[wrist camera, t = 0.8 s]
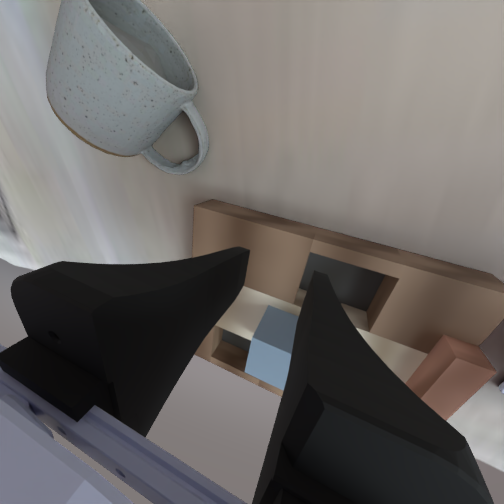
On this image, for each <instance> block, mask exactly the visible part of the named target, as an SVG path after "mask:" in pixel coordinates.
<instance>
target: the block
mask: <svg viewBox="0 0 504 504" xmlns="http://www.w3.org/2000/svg"><path fill="white" fill-rule="evenodd" d="M298 317H299V316H296V315H293V314H291V313H288V312H286V311H283V310H280V309H278V308H275V307H272V306H270V305H268V307H267V309H266V311H265V313H264V315H263V317H262V319H261V321H260V323H259V325H258V327H257V329H256V331H255V333H254V335H253V337H252V340H251V345H250V349H249V354H248V358H247V363H246V367H245V373H247V374H249V375H252V376H254V377H256V378H258V379H260V380H262V381H264V382H266V383H268V384H270V385H272V386H275V387H277V388H279V389H281V390H283V391H284V387H285V383H286V380H287V375H288V371H289V366H290V360H291V354H292V348H293V342H294V336H295V330H296V325H297V321H298Z"/></svg>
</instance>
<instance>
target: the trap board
mask: <svg viewBox="0 0 504 504" xmlns="http://www.w3.org/2000/svg"><path fill="white" fill-rule="evenodd" d="M238 246H240V247H243V248H246V249H249V250H250V255H249V261H248V266H247V272H246V278H245V284H244V286H243V288H242V289H241V291H240V293H239V295H238V296H237V298H236V299H235V301H234V302H233V303H232V305H231V306H230V307H229V308H228V310H227V311H226V312H225V313H224V315H223V316H222V317H221V318H220V320H219V321H218V322H217V323H216V324H215V326H214V327H213V328H212V329H211V331H210V332H209V333H208V335H207V336H206V337H205V339H204V340H203V341H202V343H201V345H200V346H199V348H198V349H197V351H196V352H195V355H197V356H199V357H201V358H203V359H205V360H207V361H209V362H211V363H213V364H215V365H217V366H219V367H221V368H224V369H225V370H227V371H230V372H232V373H234V374H236V375H238V376H240V377H242V378H244V379H246V380H248V381H250V382H252V383H254V384H256V385H258V386H260V387H262V388H265V389H266V390H268V391H270V392H272V393H275V394H277V395H279V396H281V397H282V394H283V390H281V389H279V388H277V387H275V386H272V385H270V384H268V383H266V382H264V381H262V380H260V379H258V378H256V377H254V376H252V375H249V374H247V373H245V367H246V363H247V358H248V354H249V349H250V345H251V340H252V337H253V335H254V333H255V331H256V329H257V327H258V325H259V323H260V321H261V319H262V317H263V315H264V313H265V311H266V309H267V307H268V305H270V306H272V307H275V308H278V309H280V310H283V311H286V312H288V313H291V314H293V315H296V316H299V314H300V311H301V307H302V304H303V301H304V298H305V295H306V292H307V289H308V286H309V284H310V281H311V278H312V275H313V272H314V270H315V271H318V272H321V273H324V274H327V275H328V276H329V278H330V281H331V283H332V286H333V288H334V290H335V293H336V295H337V297H338V299H339V301H340V303H341V305H342V307H343V309H344V310H345V312H346V314H347V315H348V317H349V319H350V320H351V322H352V323H353V325H354V326H355V327H356V329H357V330H358V332H359V333H360V334H361V336H362V337H363V338H364V340H365V341H366V342H367V343H368V345H369V346H370V347H371V348H372V349H373V350H374V352H375V353H376V354H377V355H378V356H379V357H380V358H381V360H382V361H383V362H384V363H385V364H386V365H387V366H388V367H389V368H390V369H391V370H392V371H393V372H394V373H395V374H396V375H397V376H398V377H399V378H400V379H401V380H402V381H403V382H404V383H405V384H406V385H407V386H408V387H409V388H410V389H411V390H412V391H413V392H414V393H415V394H416V395H417V396H418V397H419V398H420V399H421V400H423V401H424V402H425V403H426V404H427V405H428V406H429V407H431V408H432V409H433V410H434V411H435V412H436V413H437V414H439V415H440V416H441V417H442V418H443V419H444V420H445V421H446V420H447V419H448V418H449V417H450V416H452V415H453V414H454V413H455V412H456V411H457V410H458V409H459V408H460V407H461V406H462V405H463V404H464V403H465V402H466V401H467V400H468V399H469V398H470V397H472V396H473V395H474V394H475V393H476V392H477V391H478V390H479V389H480V388H481V387H482V386H483V385H484V384H485V383H486V382H487V381H488V380H489V379H490V378H492V377H493V376H494V375H495V374H496V373H497V372H496V370H495V369H494V368H493V366H492V365H491V363H490V362H489V361H488V359H487V358H486V356H485V355H484V353H483V352H482V351H481V349H480V348H479V346H480V344H481V343H482V342H483V341H484V340H485V339H486V338H487V337H488V336H489V335H490V334H491V332H492V331H493V330H494V329H495V328H496V327H497V326H498V325H499V324H500V323H501V322H502V320H503V319H504V283H502V282H501V281H500V280H499V279H497V278H496V277H495V276H494V275H492V274H489V273H486V272H482V271H478V270H474V269H471V268H467V267H463V266H459V265H456V264H452V263H448V262H444V261H441V260H437V259H433V258H430V257H426V256H422V255H418V254H415V253H411V252H407V251H403V250H400V249H396V248H392V247H389V246H385V245H381V244H377V243H374V242H370V241H366V240H362V239H359V238H355V237H351V236H347V235H344V234H340V233H336V232H333V231H329V230H325V229H321V228H318V227H314V226H310V225H306V224H303V223H299V222H295V221H291V220H288V219H284V218H280V217H277V216H273V215H269V214H265V213H262V212H258V211H254V210H250V209H247V208H243V207H239V206H235V205H232V204H228V203H224V202H221V201H217V200H213V199H212V200H209V201H206V202H203V203H200V204H197V205H194V215H193V242H192V258H193V257H198V256H202V255H206V254H210V253H214V252H217V251H221V250H225V249H228V248H232V247H238Z"/></svg>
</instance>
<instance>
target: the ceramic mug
mask: <svg viewBox="0 0 504 504" xmlns="http://www.w3.org/2000/svg"><path fill="white" fill-rule="evenodd" d="M46 90H47V98H48V101H49V103H50V105H51V107H52V110H53V111H54V113H55V114H56V116H57V117H58V118H59V120H60V121H61V122H62V123H63V124H64V125H65V126H66V127H67V128H68V129H69V130H70V131H71V132H72V133H73V134H74V135H76V136H77V137H78V138H79V139H81V140H82V141H84V142H85V143H87V144H89V145H90V146H92V147H94V148H96V149H98V150H101V151H103V152H105V153H107V154H112V155H116V156H121V157H131V156H135V155H138V154H143V155H144V156H145V158H146V159H147V160H149V161H150V162H151V163H152V164H153V165H155V166H156V167H157V168H159V169H161V170H163V171H165V172H167V173H170V174H178V175H182V174H186V173H189V172H191V171H193V170H194V169H196V168H197V167H198V166H199V165H200V164H201V163H202V161H203V160H204V158H205V157H206V154H207V152H208V148H209V137H208V132H207V129H206V126H205V124H204V122H203V120H202V118H201V116H200V114H199V112H198V110H197V109H196V107H195V106H194V104H193V102H192V100H193V98H194V97H195V95H196V94H197V90H198V83H197V78H196V75H195V73H194V71H193V68H192V67H191V65H190V63H189V60H188V59H187V57H186V55H185V54H184V52H183V51H182V49H181V48H180V46H179V44H178V43H177V42H176V41H175V39H174V38H173V36H172V35H171V34H170V33H169V31H168V30H167V29H166V28H165V27H164V25H163V24H162V23H161V22H160V20H159V19H158V18H157V17H156V16H155V15H154V14H153V13H152V12H151V11H150V10H149V8H148V7H147V6H146V5H145V4H143V3H142V2H141V1H140V0H62V1H61V5H60V9H59V14H58V18H57V22H56V27H55V32H54V37H53V43H52V47H51V51H50V55H49V60H48V65H47V70H46ZM182 111H184V112H185V113H186V114H187V116H188V117H189V119H190V121H191V123H192V125H193V127H194V129H195V131H196V134H197V136H198V142H199V153H198V154H197V155H196V156H194V157H193V158H191V159H190V160H188V161H183V162H182V163H181V165H179V164H175V163H172V162H170V161H169V160H167V159H165V158H164V157H163V156H161V155H160V154H159V153H158V152H157V151H156V150H155V149H153V147H152V144H153V143H154V142H156V140H157V139H158V138H159V136H160V135H161V134H162V132H163V131H164V130H165V129H166V128H167V127H168V126H169V125H170V124H171V123H172V122H173V121H174V120H175V119H176V117H177V116H178V115H179V114H181V112H182Z"/></svg>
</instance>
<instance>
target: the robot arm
mask: <svg viewBox="0 0 504 504" xmlns="http://www.w3.org/2000/svg"><path fill="white" fill-rule="evenodd" d="M249 255H250V250H249V249H246V248H243V247H240V246H238V247H232V248H228V249H225V250H221V251H217V252H214V253H210V254H206V255H202V256H198V257H193V258H189V259H184V260H178V261H170V262H162V263H148V264H92V263H78V262H66V261H61V262H57V263H54V264H51V265H48V266H46V267H43V268H40V269H38V270H35V271H32V272H30V273H27V274H24V275H22V276H19V277H17V278H16V279H15V280H14V281H13V283H12V286H11V296H12V299H13V302H14V305H15V307H16V310H17V312H18V314H19V316H20V319H21V321H22V323H23V326H24V328H25V330H26V332H27V335H28V337H26V338H24V339H23V340H21V341H19V342H17V343H16V344H14V345H12V346H11V347H9V348H6V347H4V346H2V345H1V344H0V504H134V503H133V502H132V501H131V500H130V499H129V498H127V497H126V496H125V495H124V494H123V493H121V492H120V491H119V490H118V489H117V488H116V487H115V486H113V485H112V484H111V483H110V482H109V481H107V480H106V479H105V478H104V477H103V476H102V475H100V474H99V473H98V472H97V471H96V470H94V469H93V468H92V467H90V466H89V465H88V464H86V463H85V462H84V461H82V460H81V459H80V458H78V457H77V456H76V455H74V454H73V453H71V452H70V451H69V450H68V449H66V448H65V447H64V446H62V445H61V444H59V443H58V442H57V441H55V440H54V437H53V434H52V432H51V430H50V429H49V428H48V427H47V426H46V425H48V426H49V427H50V428H51V429H53V430H54V431H56V432H57V433H58V434H60V435H61V436H62V437H64V438H65V439H66V440H68V441H69V442H71V443H72V444H73V445H75V446H76V447H77V448H79V449H80V450H81V451H83V452H84V453H85V454H87V455H88V456H90V457H91V458H92V459H94V460H95V461H96V462H98V463H99V464H100V465H102V466H103V467H104V468H106V469H107V470H109V471H110V472H111V473H113V474H114V475H115V476H117V477H118V478H120V479H121V480H122V481H124V482H125V483H126V484H128V485H129V486H130V487H132V488H133V489H134V490H136V491H137V492H139V493H140V494H141V495H143V496H144V497H145V498H147V499H148V500H149V501H151V502H152V503H154V504H247V503H245V502H244V501H242V500H241V499H239V498H238V497H236V496H235V495H233V494H232V493H230V492H228V491H227V490H225V489H224V488H222V487H221V486H219V485H218V484H216V483H215V482H213V481H211V480H210V479H208V478H207V477H205V476H204V475H202V474H201V473H199V472H198V471H196V470H194V469H193V468H191V467H190V466H188V465H187V464H185V463H184V462H182V461H180V460H179V459H177V458H176V457H174V456H173V455H171V454H170V453H168V452H167V451H165V450H164V449H162V448H160V447H159V446H157V445H156V444H154V443H153V442H151V441H150V440H148V439H146V438H145V437H146V435H147V434H148V432H149V430H150V428H151V426H152V425H153V423H154V421H155V419H156V418H157V416H158V414H159V412H160V410H161V409H162V407H163V405H164V403H165V402H166V400H167V398H168V396H169V395H170V393H171V391H172V390H173V388H174V386H175V385H176V383H177V381H178V380H179V378H180V376H181V375H182V373H183V371H184V370H185V368H186V366H187V365H188V363H189V362H190V360H191V358H192V357H193V355H194V354H195V352H196V351H197V349H198V348H199V346H200V345H201V343H202V341H203V340H204V339H205V337H206V336H207V335H208V333H209V332H210V331H211V329H212V328H213V327H214V326H215V324H216V323H217V322H218V321H219V320H220V318H221V317H222V316H223V315H224V313H225V312H226V311H227V310H228V308H229V307H230V306H231V305H232V303H233V302H234V301H235V299H236V298H237V296H238V295H239V293H240V291H241V289H242V288H243V286H244V284H245V278H246V272H247V266H248V261H249ZM499 389H500V391H501V392H502V393H503V394H504V382H503V383H501V384H500V385H499ZM44 423H45V424H46V425H45V424H44ZM252 504H494V503H493V500H492V497H491V495H490V493H489V490H488V488H487V486H486V483H485V481H484V479H483V476H482V474H481V471H480V469H479V467H478V465H477V462H476V460H475V458H474V456H473V453H472V451H471V449H470V447H469V445H468V443H467V441H466V439H465V437H464V436H463V435H461V434H460V433H459V432H458V431H457V430H456V429H455V428H453V427H452V426H451V425H450V424H449V423H448V422H447V421H445V420H444V419H443V418H442V417H441V416H440V415H439V414H437V413H436V412H435V411H434V410H433V409H432V408H431V407H429V406H428V405H427V404H426V403H425V402H424V401H423V400H421V399H420V398H419V397H418V396H417V395H416V394H415V393H414V392H413V391H412V390H411V389H410V388H409V387H408V386H407V385H406V384H405V383H404V382H403V381H402V380H401V379H400V378H399V377H398V376H397V375H396V374H395V373H394V372H393V371H392V370H391V369H390V368H389V367H388V366H387V365H386V364H385V363H384V362H383V361H382V360H381V358H380V357H379V356H378V355H377V354H376V353H375V352H374V350H373V349H372V348H371V347H370V346H369V345H368V343H367V342H366V341H365V340H364V338H363V337H362V336H361V334H360V333H359V332H358V330H357V329H356V327H355V326H354V325H353V323H352V322H351V320H350V319H349V317H348V315H347V314H346V312H345V310H344V309H343V307H342V305H341V303H340V301H339V299H338V297H337V295H336V293H335V290H334V288H333V286H332V283H331V281H330V278H329V276H328V275H327V274H324V273H321V272H318V271H315V270H314V272H313V275H312V278H311V281H310V284H309V286H308V289H307V292H306V295H305V298H304V301H303V304H302V307H301V311H300V314H299V317H298V321H297V325H296V330H295V336H294V342H293V348H292V354H291V360H290V366H289V371H288V375H287V380H286V383H285V387H284V391H283V394H282V398H281V402H280V406H279V409H278V413H277V417H276V420H275V424H274V428H273V431H272V434H271V438H270V442H269V445H268V449H267V452H266V456H265V459H264V463H263V467H262V470H261V474H260V477H259V481H258V484H257V488H256V491H255V495H254V498H253V502H252Z"/></svg>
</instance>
